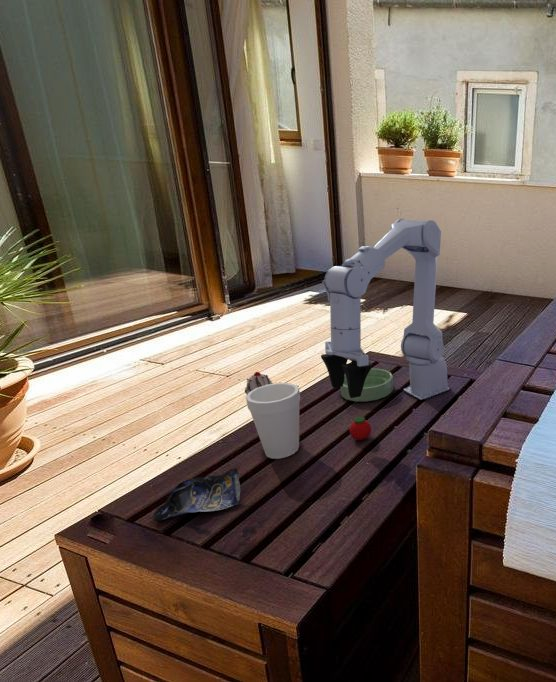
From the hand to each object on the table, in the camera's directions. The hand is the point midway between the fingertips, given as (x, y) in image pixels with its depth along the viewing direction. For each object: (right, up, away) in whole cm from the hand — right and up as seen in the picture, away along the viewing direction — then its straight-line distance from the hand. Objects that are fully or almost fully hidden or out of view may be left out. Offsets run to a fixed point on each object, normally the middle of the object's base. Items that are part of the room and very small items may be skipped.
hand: (346, 391), depth 97 cm
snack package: (-19, -18, -17) cm, 31 cm away
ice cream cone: (-19, -10, +5) cm, 22 cm away
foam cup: (-13, -12, 0) cm, 18 cm away
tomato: (+2, -11, +4) cm, 12 cm away
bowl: (-3, -3, +26) cm, 27 cm away
